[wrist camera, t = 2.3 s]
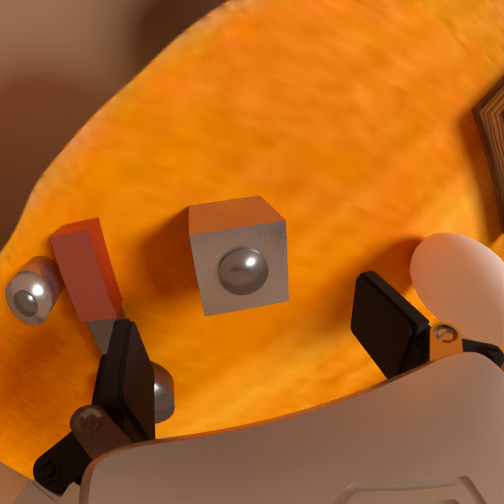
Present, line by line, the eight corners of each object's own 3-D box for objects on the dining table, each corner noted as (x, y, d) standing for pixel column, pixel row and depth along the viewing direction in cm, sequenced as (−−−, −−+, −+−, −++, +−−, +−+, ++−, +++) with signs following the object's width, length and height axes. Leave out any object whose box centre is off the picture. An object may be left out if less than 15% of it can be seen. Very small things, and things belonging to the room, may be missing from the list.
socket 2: (260, 195, 21) (287, 222, 16) (265, 260, 24) (290, 303, 18) (188, 206, 21) (189, 237, 15) (199, 271, 23) (205, 319, 17)
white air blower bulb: (378, 271, 27) (512, 400, 10) (420, 203, 25) (579, 293, 8) (417, 296, 29) (524, 400, 13) (453, 238, 27) (576, 321, 11)
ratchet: (121, 212, 20) (99, 245, 14) (181, 399, 28) (184, 447, 23) (43, 230, 19) (5, 264, 13) (121, 404, 27) (117, 450, 22)
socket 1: (55, 252, 20) (34, 276, 16) (71, 295, 21) (55, 324, 18) (20, 259, 19) (-3, 283, 15) (36, 300, 21) (18, 328, 17)
